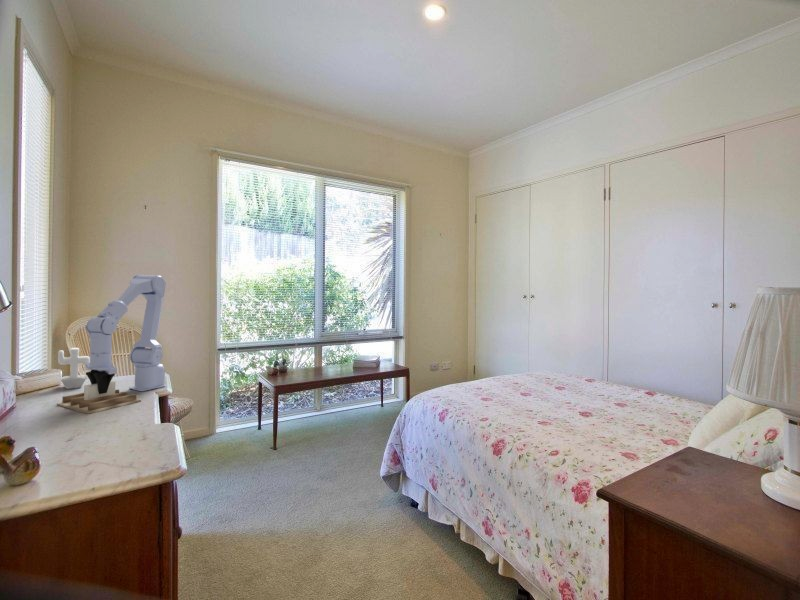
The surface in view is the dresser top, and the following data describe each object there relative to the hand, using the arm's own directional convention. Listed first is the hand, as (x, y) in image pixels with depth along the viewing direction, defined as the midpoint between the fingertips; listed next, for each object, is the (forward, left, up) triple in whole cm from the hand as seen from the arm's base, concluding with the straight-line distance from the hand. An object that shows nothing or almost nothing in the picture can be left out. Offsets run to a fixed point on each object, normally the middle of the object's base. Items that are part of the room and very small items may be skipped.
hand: (100, 392), depth 130 cm
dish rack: (0, 0, -3) cm, 3 cm away
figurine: (-6, -30, -4) cm, 30 cm away
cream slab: (0, 0, -3) cm, 3 cm away
